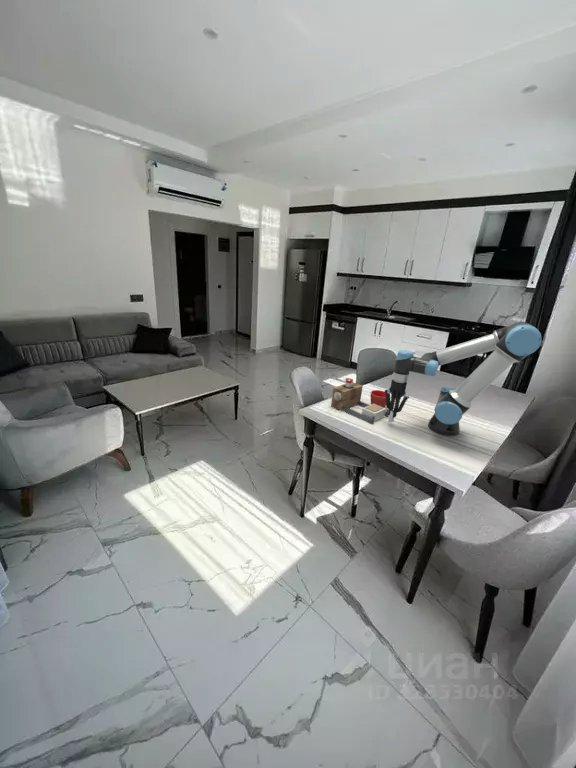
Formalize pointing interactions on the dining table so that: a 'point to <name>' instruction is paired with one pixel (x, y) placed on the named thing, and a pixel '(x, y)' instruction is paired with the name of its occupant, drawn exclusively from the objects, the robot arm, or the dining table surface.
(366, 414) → the block
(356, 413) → the rail channel
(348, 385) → the cylinder
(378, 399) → the flower pot
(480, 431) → the dining table surface
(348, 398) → the end cabinet
